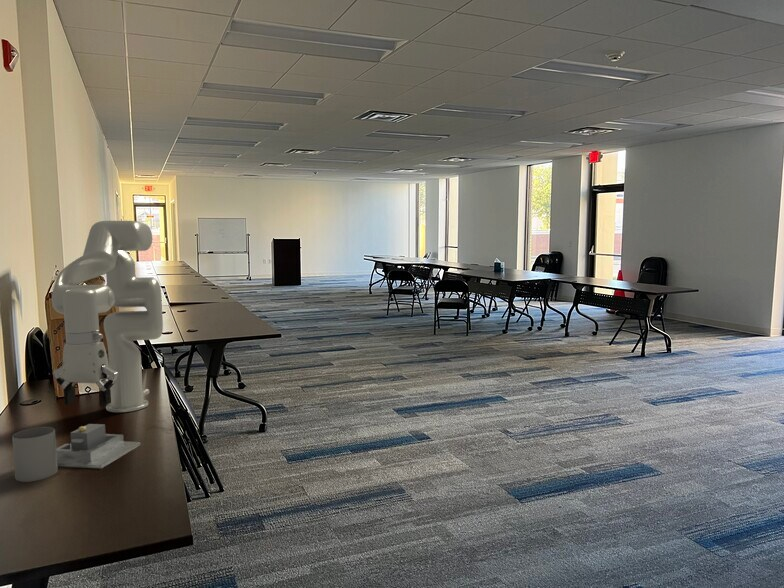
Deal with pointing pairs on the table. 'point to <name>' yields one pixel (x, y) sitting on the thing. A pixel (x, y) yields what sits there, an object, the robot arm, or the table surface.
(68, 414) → the table surface
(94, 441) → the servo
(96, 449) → the board
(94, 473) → the table surface
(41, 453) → the cup
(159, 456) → the table surface
